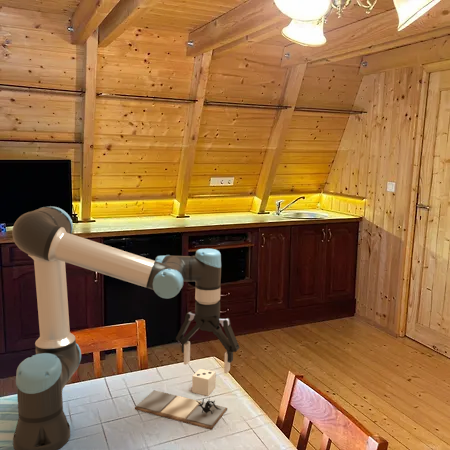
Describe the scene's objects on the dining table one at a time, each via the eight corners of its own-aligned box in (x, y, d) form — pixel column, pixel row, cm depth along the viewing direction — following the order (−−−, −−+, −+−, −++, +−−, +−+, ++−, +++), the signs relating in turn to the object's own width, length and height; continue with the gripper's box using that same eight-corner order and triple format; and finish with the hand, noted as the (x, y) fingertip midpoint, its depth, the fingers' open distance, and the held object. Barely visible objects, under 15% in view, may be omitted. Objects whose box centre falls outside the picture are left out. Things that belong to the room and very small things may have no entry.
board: (134, 409, 150) (134, 406, 150) (154, 391, 161) (154, 389, 161) (211, 429, 140) (211, 426, 140) (227, 409, 151) (227, 406, 151)
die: (192, 392, 161) (192, 375, 160) (199, 384, 167) (200, 368, 166) (208, 396, 159) (208, 379, 158) (215, 388, 164) (215, 371, 163)
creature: (199, 406, 153) (192, 414, 145) (201, 389, 153) (193, 396, 145) (223, 410, 151) (216, 418, 143) (224, 393, 151) (218, 400, 143)
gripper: (251, 302, 140) (249, 370, 143) (177, 291, 149) (176, 354, 153) (242, 310, 133) (240, 380, 136) (165, 298, 142) (164, 364, 146)
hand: (206, 367), depth 145 cm, fingers open, 13 cm apart
